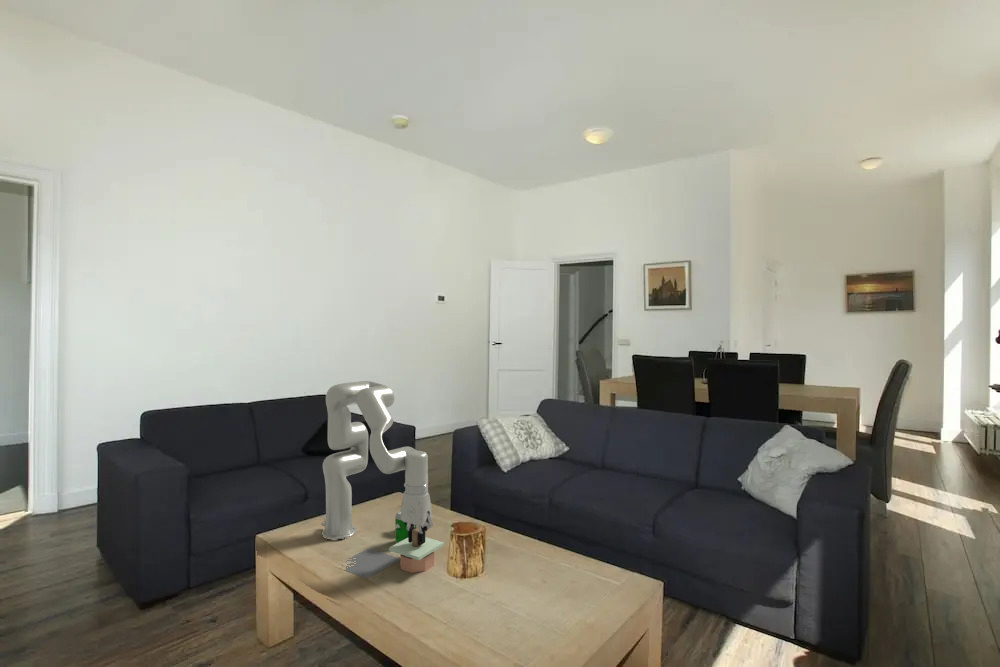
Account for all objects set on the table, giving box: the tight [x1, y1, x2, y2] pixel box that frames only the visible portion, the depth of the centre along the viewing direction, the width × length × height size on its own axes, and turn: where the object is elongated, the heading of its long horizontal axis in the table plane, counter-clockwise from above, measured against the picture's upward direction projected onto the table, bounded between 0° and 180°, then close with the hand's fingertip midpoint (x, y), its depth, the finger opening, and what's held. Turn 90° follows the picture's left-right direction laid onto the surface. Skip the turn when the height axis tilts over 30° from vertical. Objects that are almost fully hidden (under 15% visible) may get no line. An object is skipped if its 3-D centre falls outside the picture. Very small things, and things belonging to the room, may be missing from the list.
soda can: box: [394, 509, 416, 544], centre depth 194 cm, size 8×8×12 cm
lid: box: [388, 528, 445, 560], centre depth 177 cm, size 13×13×6 cm
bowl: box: [399, 551, 435, 573], centre depth 177 cm, size 11×11×5 cm
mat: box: [342, 548, 400, 580], centre depth 178 cm, size 16×16×1 cm
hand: (416, 542), depth 177 cm, fingers open, 3 cm apart
